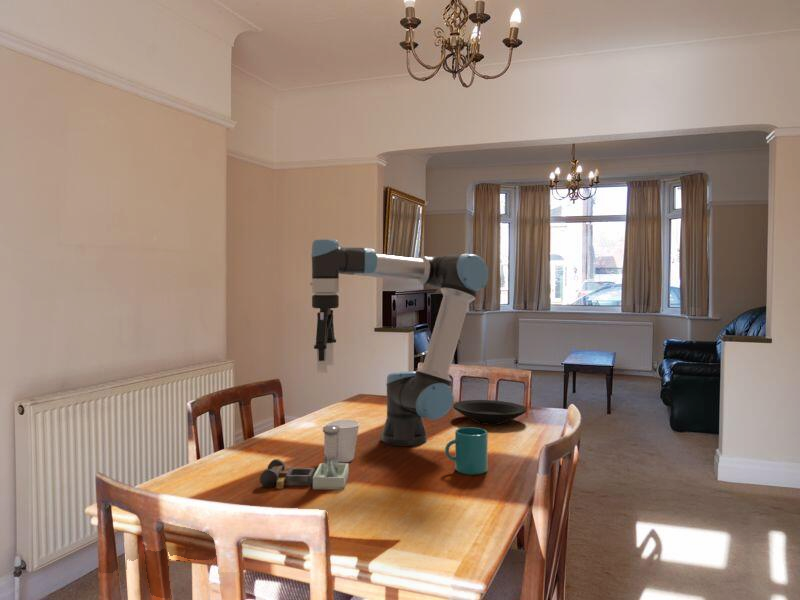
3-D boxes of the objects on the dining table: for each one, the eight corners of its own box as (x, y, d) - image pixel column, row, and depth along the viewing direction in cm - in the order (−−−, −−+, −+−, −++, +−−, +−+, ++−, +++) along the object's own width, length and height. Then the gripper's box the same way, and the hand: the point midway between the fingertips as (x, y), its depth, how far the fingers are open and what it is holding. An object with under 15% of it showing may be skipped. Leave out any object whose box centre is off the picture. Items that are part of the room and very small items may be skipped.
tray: (348, 474, 166) (348, 463, 166) (343, 489, 154) (343, 478, 154) (319, 473, 166) (319, 463, 166) (312, 489, 154) (312, 477, 154)
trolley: (315, 475, 165) (315, 459, 165) (309, 488, 155) (309, 471, 155) (269, 474, 166) (268, 459, 166) (259, 488, 155) (259, 471, 155)
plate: (535, 419, 230) (535, 405, 230) (512, 433, 210) (512, 417, 209) (469, 411, 245) (469, 397, 245) (441, 423, 225) (441, 408, 224)
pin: (340, 476, 163) (340, 425, 162) (338, 482, 158) (338, 429, 158) (324, 476, 163) (324, 425, 162) (321, 481, 158) (321, 429, 158)
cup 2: (442, 466, 173) (442, 427, 173) (482, 464, 175) (482, 426, 174) (448, 476, 164) (448, 436, 164) (490, 474, 166) (491, 434, 165)
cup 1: (364, 456, 182) (364, 421, 182) (351, 466, 173) (351, 428, 173) (335, 453, 186) (335, 418, 185) (320, 463, 176) (320, 426, 176)
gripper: (319, 292, 182) (319, 362, 183) (304, 295, 157) (304, 375, 158) (343, 292, 182) (343, 362, 183) (332, 295, 157) (333, 375, 158)
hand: (325, 368), depth 170 cm, fingers open, 13 cm apart
